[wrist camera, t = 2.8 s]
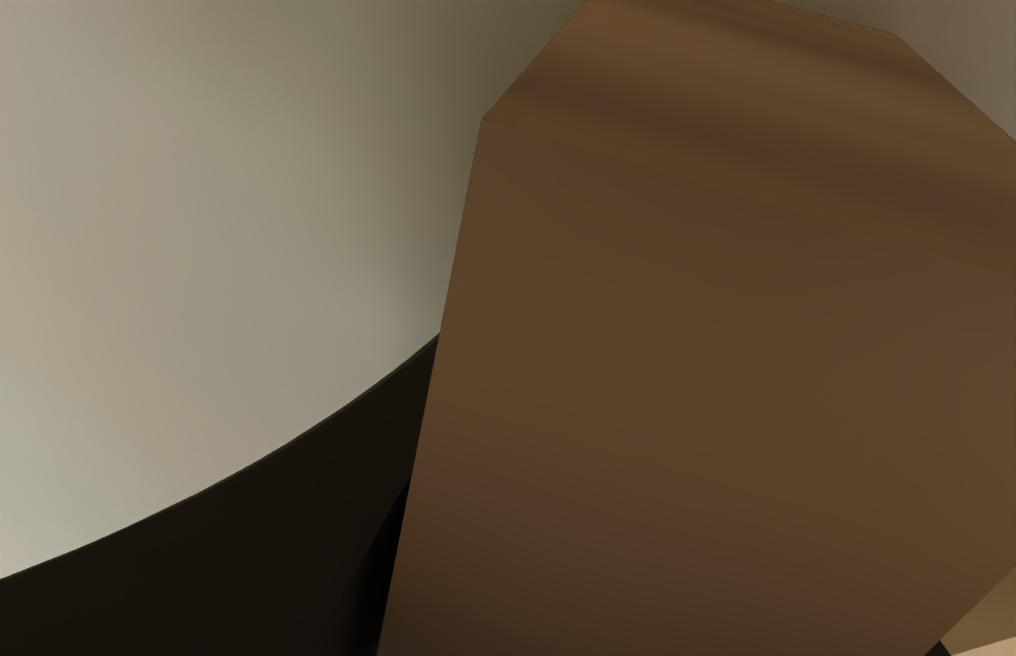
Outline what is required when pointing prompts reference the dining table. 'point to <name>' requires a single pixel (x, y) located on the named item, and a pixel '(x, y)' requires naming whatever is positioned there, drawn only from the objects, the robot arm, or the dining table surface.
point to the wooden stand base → (987, 624)
